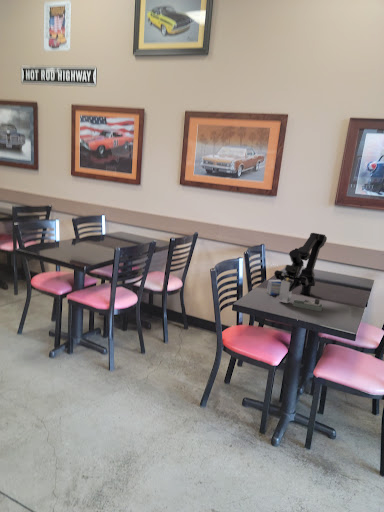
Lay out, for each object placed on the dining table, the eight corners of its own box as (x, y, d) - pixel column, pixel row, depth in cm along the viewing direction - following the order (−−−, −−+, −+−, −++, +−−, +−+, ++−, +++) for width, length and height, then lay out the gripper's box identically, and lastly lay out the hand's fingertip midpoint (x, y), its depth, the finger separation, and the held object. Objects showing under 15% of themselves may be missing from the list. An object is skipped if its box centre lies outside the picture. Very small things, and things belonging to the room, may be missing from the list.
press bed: (277, 296, 224) (278, 291, 223) (321, 304, 216) (322, 299, 215) (274, 305, 208) (274, 299, 207) (320, 314, 200) (321, 308, 199)
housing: (282, 299, 213) (285, 276, 210) (290, 301, 210) (293, 278, 207) (278, 300, 209) (281, 277, 206) (286, 303, 206) (290, 279, 203)
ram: (304, 305, 208) (305, 296, 207) (319, 307, 206) (320, 299, 205) (303, 307, 205) (304, 298, 204) (318, 310, 202) (320, 301, 201)
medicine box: (269, 295, 225) (271, 281, 223) (266, 292, 229) (268, 279, 227) (281, 295, 227) (283, 281, 226) (277, 292, 232) (279, 279, 230)
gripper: (277, 256, 213) (266, 278, 207) (309, 263, 202) (298, 286, 196) (281, 267, 221) (271, 288, 215) (312, 274, 210) (302, 297, 204)
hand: (285, 290), depth 207 cm, fingers closed on housing, 5 cm apart
